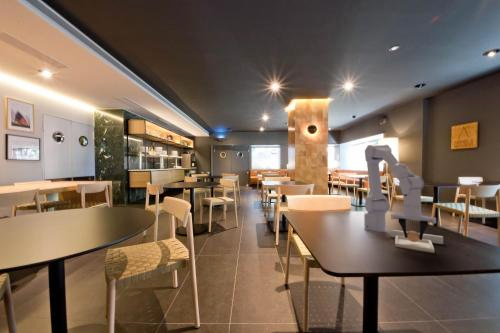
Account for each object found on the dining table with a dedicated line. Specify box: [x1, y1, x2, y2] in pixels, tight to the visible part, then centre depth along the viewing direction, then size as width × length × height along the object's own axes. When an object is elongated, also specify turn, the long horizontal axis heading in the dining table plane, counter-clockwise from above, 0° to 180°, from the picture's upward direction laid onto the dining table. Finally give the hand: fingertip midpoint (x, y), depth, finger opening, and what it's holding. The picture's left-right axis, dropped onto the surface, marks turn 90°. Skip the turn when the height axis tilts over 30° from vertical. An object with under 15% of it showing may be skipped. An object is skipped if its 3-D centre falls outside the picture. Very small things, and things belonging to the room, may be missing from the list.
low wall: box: [390, 229, 444, 245], centre depth 91 cm, size 18×1×3 cm, turn 54°
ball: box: [407, 230, 420, 242], centre depth 85 cm, size 4×4×4 cm
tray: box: [394, 235, 435, 254], centre depth 85 cm, size 12×12×1 cm
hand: (413, 238), depth 85 cm, fingers closed on ball, 4 cm apart
